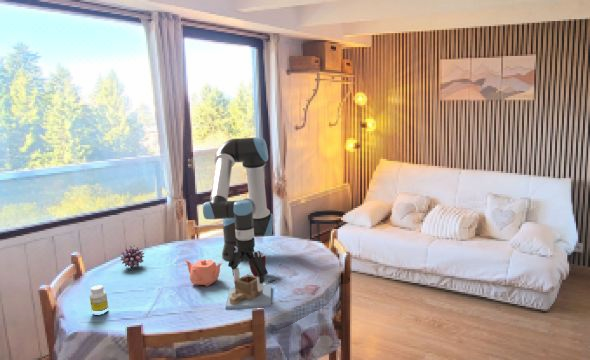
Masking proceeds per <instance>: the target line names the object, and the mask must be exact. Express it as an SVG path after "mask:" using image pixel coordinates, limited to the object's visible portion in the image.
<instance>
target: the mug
mask: <svg viewBox="0 0 590 360" xmlns="http://www.w3.org/2000/svg"><path fill="white" fill-rule="evenodd" d="M260 253H261V258H262V260H263V262H264V265H265V266H266V261H267V260H266V254H265V253H264V252H260ZM252 259H253V258H252ZM252 259H251V260H252ZM248 264H249V269H250V272H251V275H252V276H256V277H257V276H258V274H257V272H256V271H255V269H254V268H253V266H252V264H251V263H249V262H248ZM260 273H261V272H260Z"/></svg>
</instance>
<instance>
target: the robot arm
mask: <svg viewBox="0 0 590 360" xmlns="http://www.w3.org/2000/svg"><path fill="white" fill-rule="evenodd" d="M267 146H268V145H267V143H266V140H265V139H264V138H263V137H241V138H230V139H229V140H226V141H225V142H224V143H223V144H222V145H221V146H220V147H219V148H218V149H217V151H216V153H215V155H214V164H215V168H214V174H213V179H212V186H211V190H210V191H211V192H210V198H209V201H205V202H204V203H203V205H202V214H203V217H204V219H205V220H214V221H215V220H222V231H223V243H224V244H223V248H222V252H221V257H222V260H225V261H228V265H227V266H228V267H230V269H232V276H233V283H234V285H235V280H237V279H239V278H241V276H240V268H239V265H240V263H241V262H242V261H246V262H248V264H249V263H251V264H252V266H253V268H254V269H255V271H256V272H257V274H258V276H257V285H258V291H261V290H263V289H264V287H263V286H264V283H265V275H267V274H268V270H267V268H266V264H265V265H264V262H263V260H262V258H261V253H262V252H261V251H260V250H258V251H255V246H256V245H255V244H256V243H255V242H256V241H255V238H257V237H258V238H259V237H270V236H271V235H272V234H273V226H274V225H273V223H274V214H273V213H271V210H270V209H268V207H267V196H266V186H265V173H264V167H265V166H266V165H267V162H268V161H269V151H268V147H267ZM236 163H241V164H242V167H243V168H244V169H245V170H246V171H245V172H246V179H247V180H246V182H247V189H248V191H247V192H248V197H247V198H244V199H240V200H228V199H229V198H228V197H229V193H230V183H231V177H232V169H233V167H234V166H235V164H236ZM252 258H253V259H252ZM251 259H252V260H251ZM260 272H261V273H260Z"/></svg>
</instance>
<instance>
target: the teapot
mask: <svg viewBox="0 0 590 360" xmlns="http://www.w3.org/2000/svg"><path fill="white" fill-rule="evenodd" d="M184 262H186V265H187V269H188V273H189V281H190V282H191V283H192V284H194V286H196V287H198V286H204V287H210V285H212V284H214V283H215V282H216V281H218V279H219V277H220V272H221V265H223V264H224V263H223V262H219V263H218V264H216V262H215V261H213V260H211V259H208V260H207V259H201V260H197V261H195V262H194V263H193V264H192V263H191V262H190V260H187V259H184Z"/></svg>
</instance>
